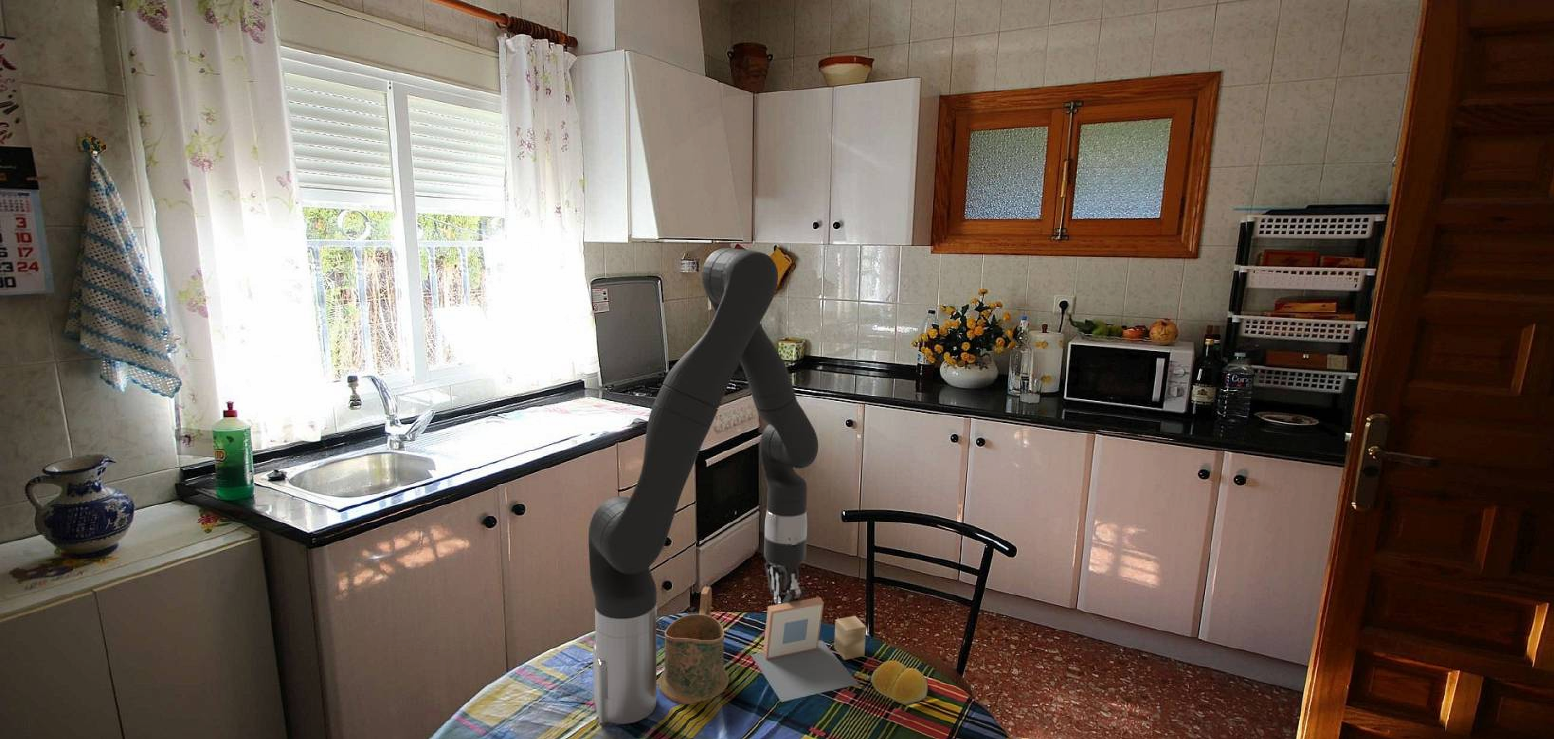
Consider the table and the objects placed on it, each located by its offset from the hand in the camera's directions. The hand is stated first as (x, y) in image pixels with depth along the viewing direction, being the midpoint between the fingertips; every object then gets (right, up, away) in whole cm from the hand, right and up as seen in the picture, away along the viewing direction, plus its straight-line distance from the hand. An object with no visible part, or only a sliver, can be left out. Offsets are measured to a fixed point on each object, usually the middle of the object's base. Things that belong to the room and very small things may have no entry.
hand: (782, 622), depth 130 cm
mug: (-15, -5, -9) cm, 18 cm away
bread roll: (+19, -7, -12) cm, 24 cm away
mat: (+3, -6, -8) cm, 10 cm away
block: (+12, -5, -2) cm, 13 cm away
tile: (+1, -4, -3) cm, 5 cm away
